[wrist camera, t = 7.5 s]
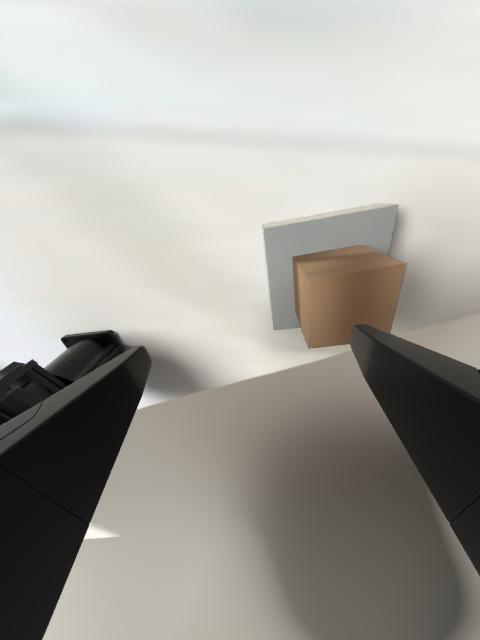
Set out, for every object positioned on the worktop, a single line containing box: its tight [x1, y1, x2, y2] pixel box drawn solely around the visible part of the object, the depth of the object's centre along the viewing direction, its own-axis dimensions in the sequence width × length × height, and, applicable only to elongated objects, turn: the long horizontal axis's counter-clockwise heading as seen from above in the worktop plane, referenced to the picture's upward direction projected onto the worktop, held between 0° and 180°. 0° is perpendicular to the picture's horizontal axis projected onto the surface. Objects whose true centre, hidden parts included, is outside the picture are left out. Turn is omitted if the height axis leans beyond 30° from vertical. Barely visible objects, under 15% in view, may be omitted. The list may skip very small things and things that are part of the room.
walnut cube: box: [292, 245, 406, 348], centre depth 14 cm, size 5×5×5 cm
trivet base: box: [262, 204, 399, 330], centre depth 17 cm, size 9×9×3 cm
